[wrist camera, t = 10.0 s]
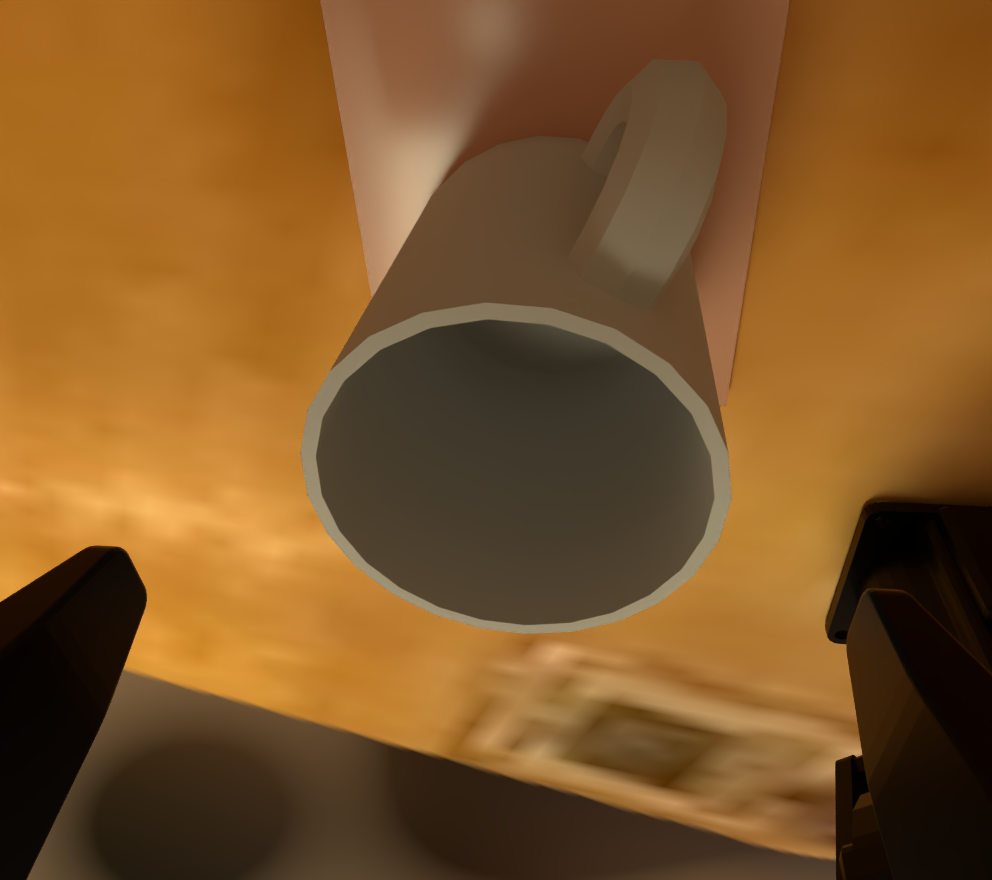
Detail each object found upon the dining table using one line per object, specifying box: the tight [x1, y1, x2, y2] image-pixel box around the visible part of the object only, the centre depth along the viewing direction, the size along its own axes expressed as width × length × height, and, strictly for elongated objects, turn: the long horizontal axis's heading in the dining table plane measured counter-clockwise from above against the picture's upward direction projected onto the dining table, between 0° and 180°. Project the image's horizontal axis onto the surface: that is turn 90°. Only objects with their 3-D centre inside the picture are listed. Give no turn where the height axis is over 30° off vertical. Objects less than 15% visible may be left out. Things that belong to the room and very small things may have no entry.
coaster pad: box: [320, 0, 790, 406], centre depth 19 cm, size 11×10×1 cm
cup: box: [301, 59, 732, 634], centre depth 15 cm, size 7×10×9 cm
